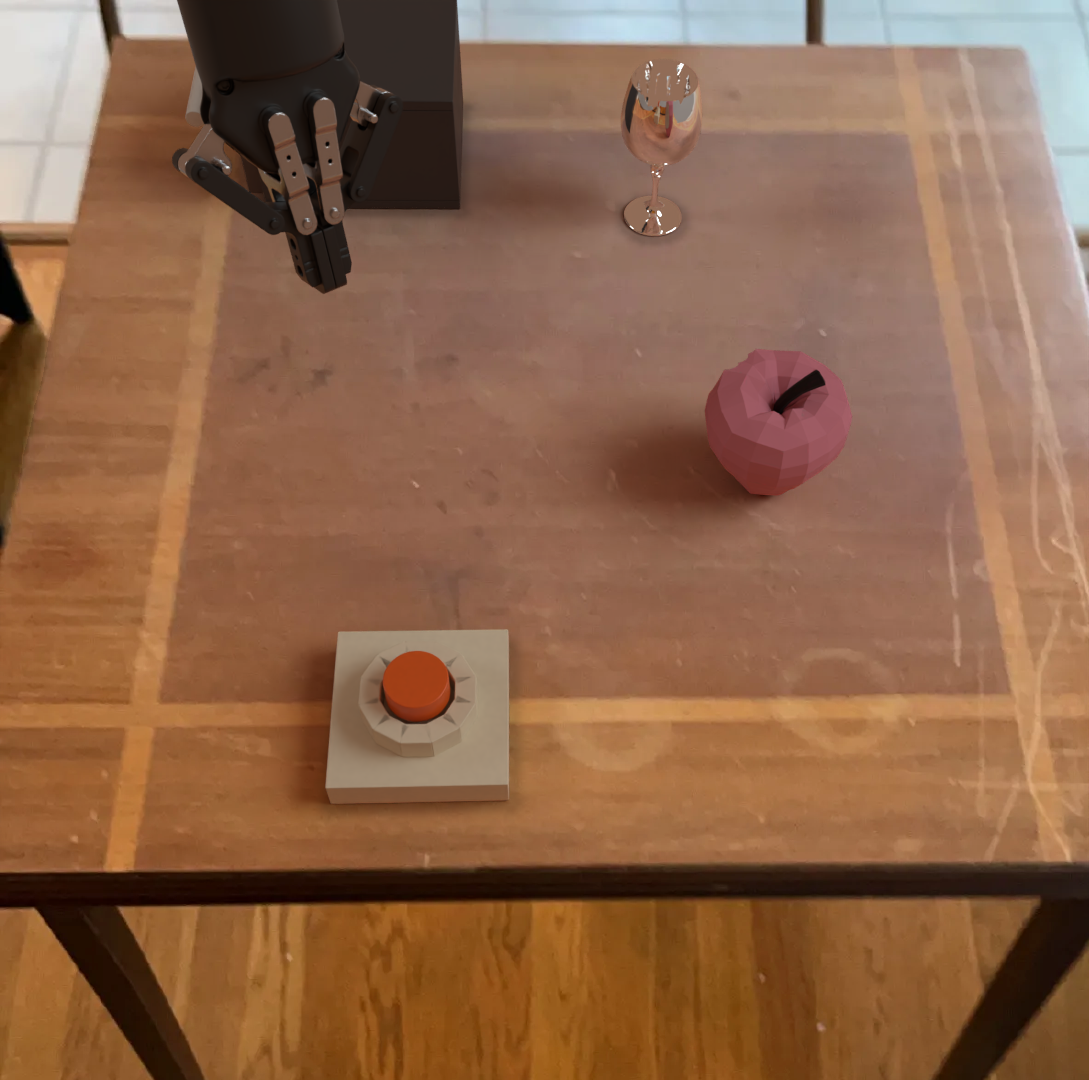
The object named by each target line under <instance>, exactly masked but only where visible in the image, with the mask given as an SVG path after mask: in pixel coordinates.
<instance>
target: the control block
mask: <svg viewBox="0 0 1089 1080" xmlns="http://www.w3.org/2000/svg"><path fill="white" fill-rule="evenodd" d="M509 634H510V633H509V629H506V628H503V629H435V630H434V629H431V630H429V629H427V630H425V629H424V630H423V629H422V630H420V629H419V630H366V631H365V630H358V631H357V630H356V631H355V630H354V631H353V630H351V631H337V637H336V638H337V639H336V650H335V662H334V675H333V685H332V686H333V687H332V697H331V698H332V699H331V711H330V723H329V735H328V749H327V760H326V774H325V785H324V788H325V791H326V794H327V797H328V800H329V803H330V804H331V805H342V804H343V805H344V804H347V805H349V804H392V803H393V804H395V803H396V804H397V803H400V804H401V803H438V802H439V803H442V802H443V803H444V802H447V803H448V802H487V801H488V802H491V801H497V802H498V801H510V639H509V638H510V637H509ZM410 651H424V652H428V653H431V654H433V655H435V656H437V657H438V658H439V659H440V660H441V661H442V662H443V663H444V664H445V666H446V668H447V671H448V675H449V683H450V698H449V701H448V704H447V705H446V707H445V708H444V709H443V711H442V712H441V713H439V714H438V715H437V716H435V717H433V718H431V719H429V720H426V721H420V722H412V721H407V720H404V719H402V718H400V717H398V716H397V715H395V714H394V713H393V712H392V711H391V709H390V708H389V706H388V704H387V701H386V697H385V692H384V688H383V675H384V672H385V670H386V668H387V666H388V665H389V664H390V662H391V661H392V660H393V659H395V658H396V657H398V656H399V655H401V654H404V653H406V652H410Z"/></svg>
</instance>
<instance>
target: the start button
mask: <svg viewBox="0 0 1089 1080" xmlns="http://www.w3.org/2000/svg"><path fill="white" fill-rule="evenodd" d="M383 688H384V692H385V697H386V701H387V704H388V706H389V708H390V709H391V711H392V712H393V713H394V714H395V715H397V716H398V717H400V718H402V719H404V720H407V721H412V722H420V721H426V720H429V719H431V718H433V717H435V716H437V715H438V714H439V713H441V712H442V711H443V709H444V708H445V707H446V705H447V704H448V701H449V698H450V683H449V675H448V671H447V668H446V666H445V664H444V663H443V662H442V661H441V660H440V659H439V658H438V657H437V656H435V655H433V654H431V653H428V652H424V651H410V652H406V653H404V654H401V655H399V656H398V657H396V658H395V659H393V660H392V661H391V662H390V664H389V665H388V666H387V668H386V670H385V672H384V675H383Z"/></svg>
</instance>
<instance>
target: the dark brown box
mask: <svg viewBox="0 0 1089 1080" xmlns="http://www.w3.org/2000/svg"><path fill="white" fill-rule="evenodd" d="M337 4H338V9H339V13H340V18H341V23H342V28H343V32H344V48H345V51H346V53H347V55H348V57H349V59H350V60H351V61H352V62H353V64H354V65H355V66H356V68H357V70H358V72H359V76H360V81H362V82H364V83H366V84H368V85H375V86H377V87H379V88H382V89H384V90H387V91H389V92H391V93H392V94H394V95H396V96H398V97H399V98H400V99H401V100H402V102H403V111H402V113H401V116H400V119H399V121H398V124H397V126H396V129H395V131H394V134H393V136H392V139H391V142H390V144H389V147H388V149H387V152H386V154H385V157H384V160H383V162H382V165H381V167H380V170H379V172H378V175H377V177H376V180H375V183H374V185H373V188H372V190H371V193H370V195H369V197H368V199H367V200H366V201H365V202H362V203H357V202H355V203H354V204H353V205H351V206H350V207H349V208H348V209H403V210H405V209H406V210H407V209H408V210H409V209H413V210H414V209H419V210H420V209H423V210H424V209H425V210H426V209H428V210H431V209H432V210H433V209H435V210H436V209H439V210H443V209H444V210H445V209H446V210H447V209H448V210H450V209H451V210H454V209H455V210H459V209H461V201H462V200H461V199H462V198H461V196H462V195H461V194H462V165H463V163H462V162H463V128H464V91H463V90H464V89H463V75H462V73H463V72H462V60H461V42H460V26H459V25H460V24H459V12H458V11H459V10H458V0H337ZM351 120H352V119H351V117H350V116H349V119H348V122H347V125H346V128H345V131H344V134H343V136H342V139H341V142H340V144H339V145H338V146H339V152H340V149H341V147H342V144H343V141H344V139H345V136H346V134H347V131H348V128H349V126H350V123H351ZM258 172H259V170H258ZM259 176H260V173H259ZM260 181H261V185H262V189H263V193H262V194H263V198H264V202H273V201H272V198H271V195H270V193H269V190H268V187H267V186H266V184H265V183H264V181H263V180H262V178H261V176H260Z"/></svg>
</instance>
